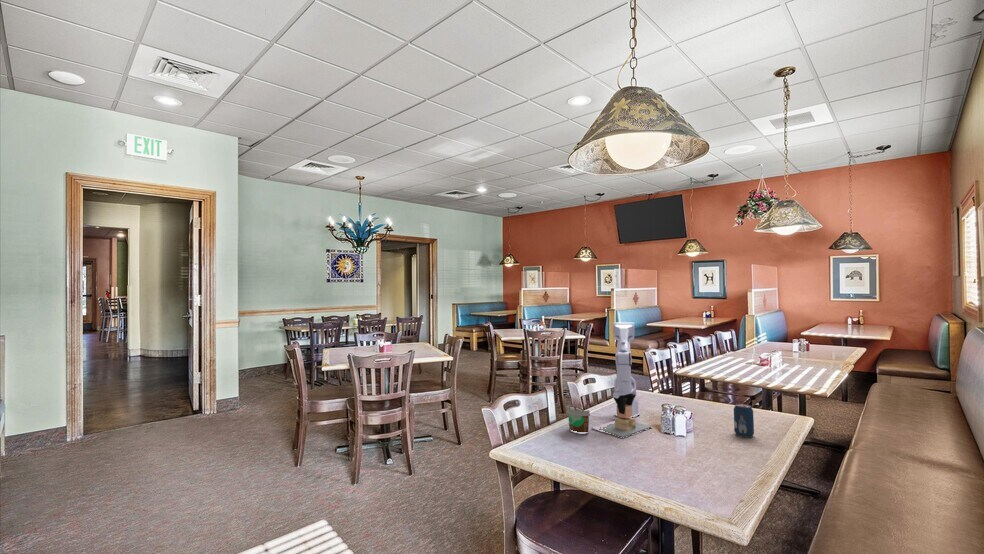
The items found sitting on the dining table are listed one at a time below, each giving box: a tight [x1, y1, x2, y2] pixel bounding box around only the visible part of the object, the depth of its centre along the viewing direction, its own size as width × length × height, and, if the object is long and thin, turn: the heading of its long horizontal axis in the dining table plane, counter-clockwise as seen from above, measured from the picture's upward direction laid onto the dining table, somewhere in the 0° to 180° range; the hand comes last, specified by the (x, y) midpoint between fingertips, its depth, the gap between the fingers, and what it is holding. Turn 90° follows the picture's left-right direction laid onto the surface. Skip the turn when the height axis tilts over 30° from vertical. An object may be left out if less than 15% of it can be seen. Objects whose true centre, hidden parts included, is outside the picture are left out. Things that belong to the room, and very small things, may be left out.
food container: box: [566, 403, 591, 433], centre depth 187 cm, size 12×6×10 cm, turn 25°
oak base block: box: [614, 416, 637, 431], centre depth 188 cm, size 6×6×4 cm
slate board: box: [599, 422, 652, 439], centre depth 190 cm, size 20×16×1 cm
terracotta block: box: [616, 405, 632, 418], centre depth 189 cm, size 4×4×4 cm
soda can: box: [733, 403, 755, 438], centre depth 179 cm, size 7×7×12 cm
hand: (625, 412), depth 188 cm, fingers closed on terracotta block, 4 cm apart
